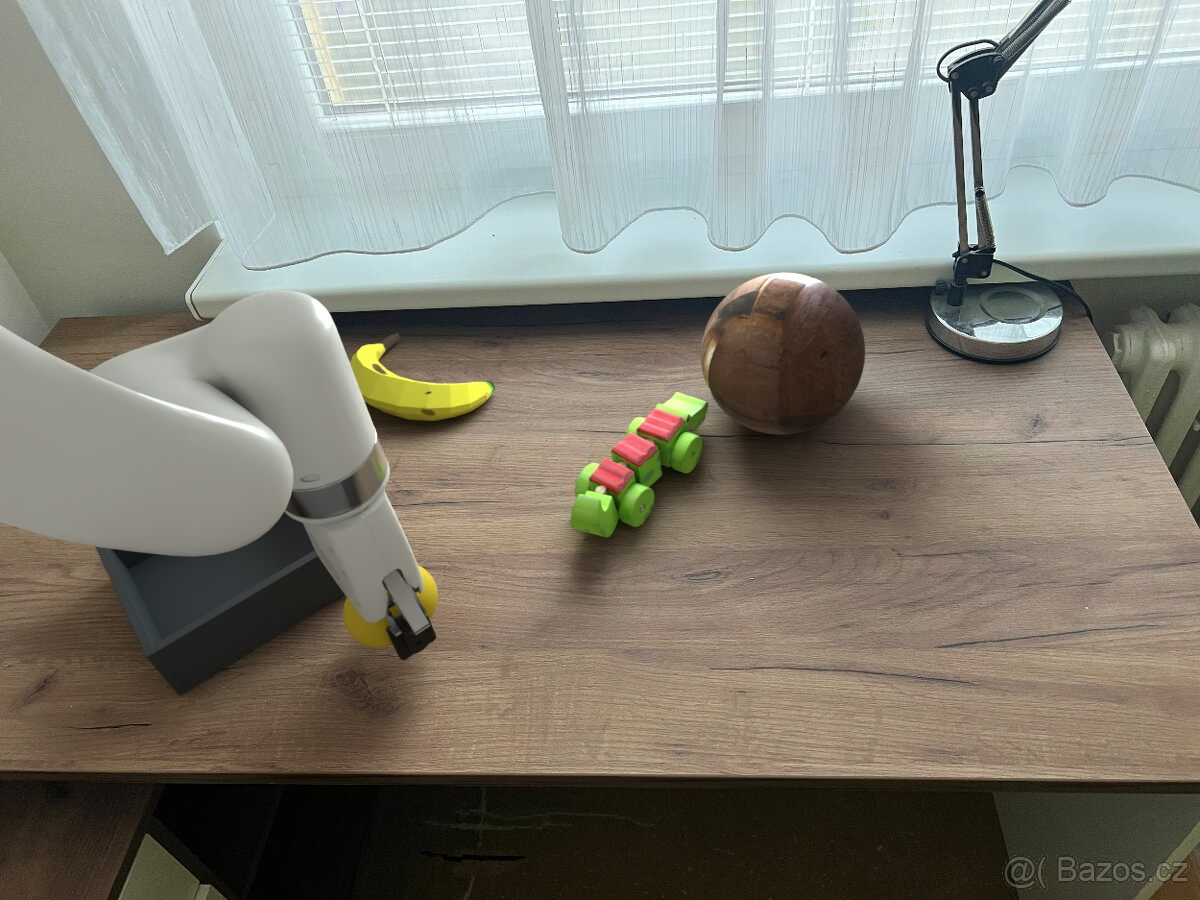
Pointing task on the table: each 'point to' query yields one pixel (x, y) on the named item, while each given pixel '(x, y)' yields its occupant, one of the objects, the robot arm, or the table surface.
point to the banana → (412, 389)
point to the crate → (219, 600)
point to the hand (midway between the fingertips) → (398, 621)
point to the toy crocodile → (638, 466)
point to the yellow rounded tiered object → (377, 632)
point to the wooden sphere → (782, 353)
